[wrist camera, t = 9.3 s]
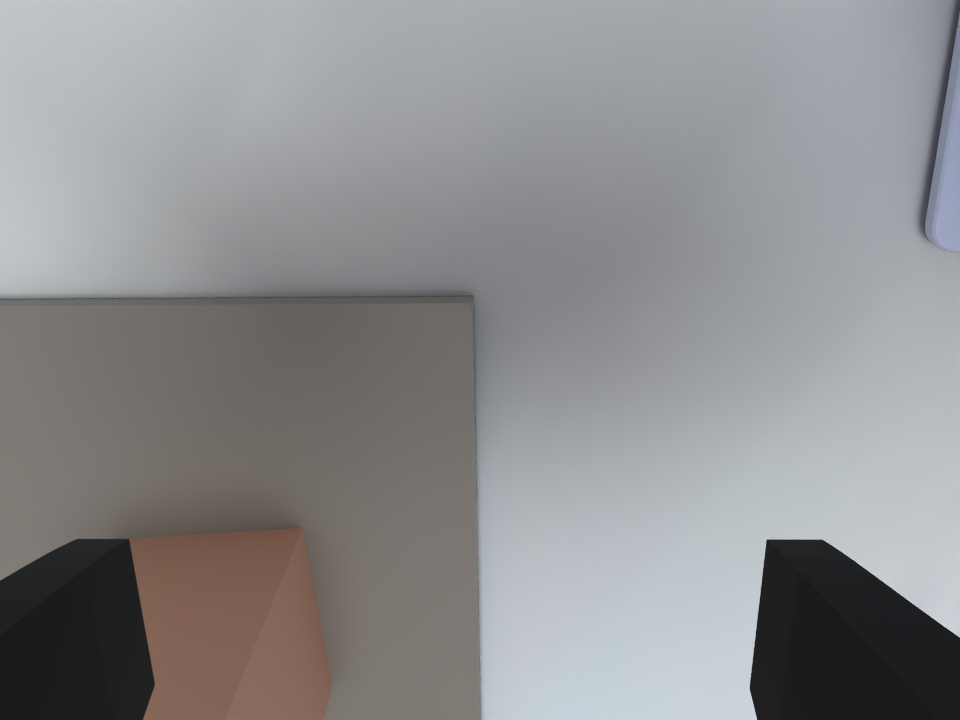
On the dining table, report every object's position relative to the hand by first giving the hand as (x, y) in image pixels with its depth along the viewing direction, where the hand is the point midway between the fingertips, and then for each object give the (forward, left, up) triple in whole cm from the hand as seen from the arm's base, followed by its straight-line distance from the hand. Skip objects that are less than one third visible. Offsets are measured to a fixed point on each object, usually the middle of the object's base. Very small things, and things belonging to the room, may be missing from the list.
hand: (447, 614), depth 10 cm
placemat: (+6, +7, -9) cm, 13 cm away
